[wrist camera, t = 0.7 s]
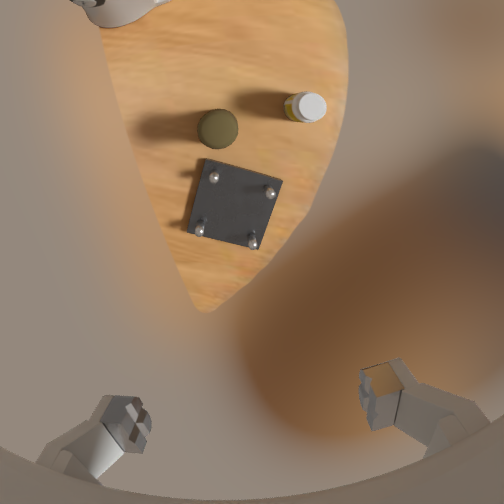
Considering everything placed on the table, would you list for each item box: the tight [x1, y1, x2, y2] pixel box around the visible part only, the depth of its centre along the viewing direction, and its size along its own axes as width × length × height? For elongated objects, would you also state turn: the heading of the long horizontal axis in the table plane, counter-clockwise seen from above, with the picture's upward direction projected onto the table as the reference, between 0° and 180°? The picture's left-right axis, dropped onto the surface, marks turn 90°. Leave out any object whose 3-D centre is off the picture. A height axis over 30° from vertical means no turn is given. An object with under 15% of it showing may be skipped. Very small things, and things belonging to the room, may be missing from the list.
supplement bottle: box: [284, 92, 326, 123], centre depth 38 cm, size 5×5×8 cm
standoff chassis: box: [187, 158, 283, 250], centre depth 46 cm, size 13×13×5 cm
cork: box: [197, 109, 238, 149], centre depth 37 cm, size 6×6×11 cm
